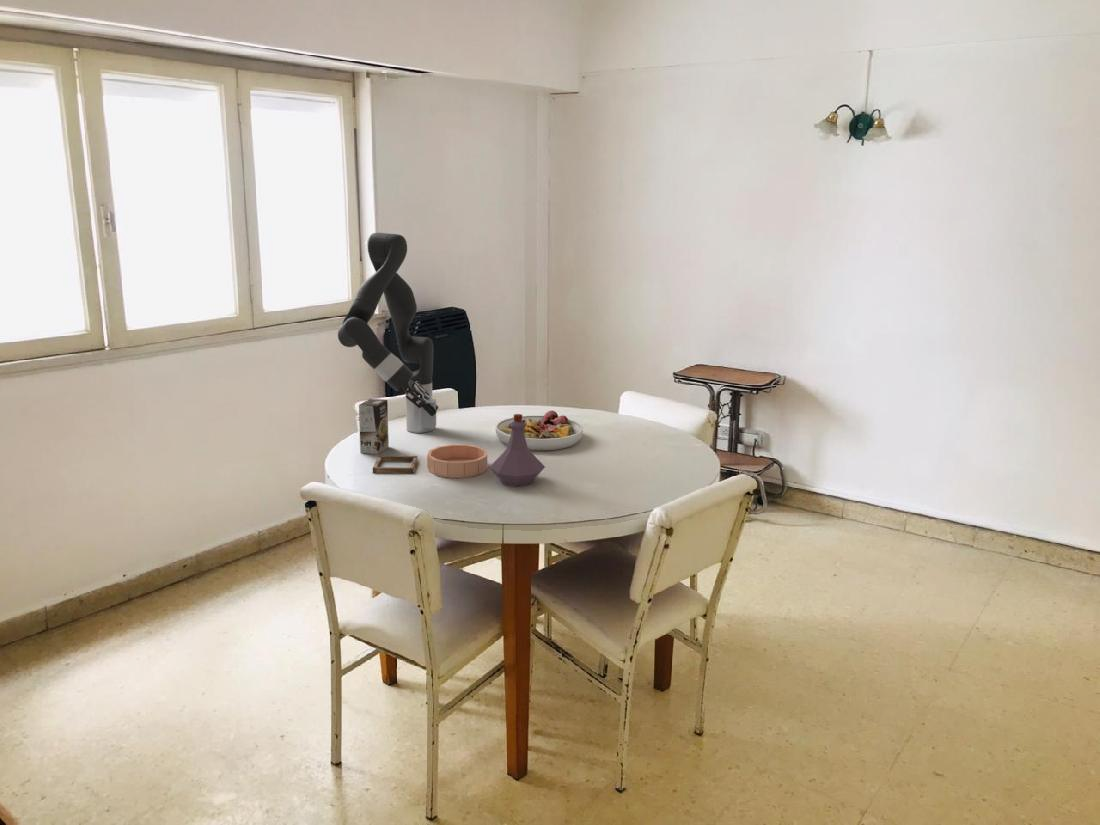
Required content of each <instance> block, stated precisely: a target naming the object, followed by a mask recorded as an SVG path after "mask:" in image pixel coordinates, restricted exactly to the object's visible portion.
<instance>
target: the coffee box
mask: <svg viewBox="0 0 1100 825" xmlns="http://www.w3.org/2000/svg"><path fill="white" fill-rule="evenodd" d="M388 404H389V403H388V399H382V398H381V399H379V398H369V399H367V400H366V401H363V402H362V403H359V404H358V413H359V414H358V415H359V416H358V417H359V423H358V424H359V425H358V426H359V453H361V454H370V455H379V454H380V453H382V452H383V451H385V450H386V449H387V448H389V446H390V444H389V443H390V442H389V440H390V439H389V438H390V437H389V411H388V410H389V409H388Z"/></svg>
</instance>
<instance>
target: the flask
mask: <svg viewBox="0 0 1100 825" xmlns="http://www.w3.org/2000/svg"><path fill="white" fill-rule="evenodd" d="M522 416H523V414H522V413H521V414H520V413H515V414H513V417H514V421H513V422H512V423H510V424H509V425H510V427H511V437H510V440H509V444H508V445H507V447H506V449H505V450H504V451H503V452H502V453H501V454H500V456H498V457H497V459H496V460H495V461H493V463H491V465H490V466H488V467H489V469H490V470H491V471H492V472H493V474H495V476H496V477H497V478H498V479H499V480H500V481H501V482H502V483H503V484H504V485H506V486H514V487H522V486H527V485H528V486H529V485H530V484H532V482H533V481H534V480H535V479H537V477H538V476H539V475H540V474H541V472H542V471H543V470H544V469H545V468H546V466H545V465H544V464H543V463H542V462H541V461H540V460H539V458H537V457H536V456H535V455H534V453H533V452H532V450H529V449H528V446H527V443H526V439H525V435H524V429H525V427H526V425H527V424H525V423H524V422H523V421H522Z"/></svg>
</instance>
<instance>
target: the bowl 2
mask: <svg viewBox="0 0 1100 825" xmlns="http://www.w3.org/2000/svg"><path fill="white" fill-rule="evenodd" d="M513 421H514V416H513V417H509V418H504V419H502V420H500V421H499V422H497V423H496V424H495V434H496V437H497V438H498V440H500V441H501V442H502V443H503V444H505V445H507V446H508V444H509V440H510V437H511V427H510V425H509V424H510V423H512V422H513ZM522 421H523V422H524V423H525V424H527V425H526V427H525V429H524V435H525V439H526V443H527V446H528V449H529V450H530V451H543V452H544V451H545V452H546V451H555V450H561V449H566V448H569V447H572V446H573V445H575V444H577V443H578V442H579V441H580V439H581V438H582V436H583V431H584V430H583V429H584V427H583V426H582V424H580V422H577V421H575V420H572V419H568V417H567V416H566V415H564V414H563V415H559V414H558V413H557V411H555V410H549V411H547V412H546V413H544V415H522Z"/></svg>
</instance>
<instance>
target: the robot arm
mask: <svg viewBox="0 0 1100 825" xmlns="http://www.w3.org/2000/svg"><path fill="white" fill-rule="evenodd" d="M366 248H367V252H368V257H369V259H370V261H371V264H372V266H373V269H374V273H373V274H372V275H371V276H370V277H368V278H367V279H366V280H365V281H364V282H363V283H362V284H360V286H359V288H358V289H357V291H356V293H355V296H354V298H353V300H352V302H351V305H350V307H349V310H348V312H347V314H346V316H345V317H344V319H343V321H342V322H341V324H340V326H339V329H338V331H337V339H338V341H339V343H340V344H341V345H342V346H344V347H346V348H354V347H358V348H360V350H361V357H362V358H363V360H364V361H365V362H366V363H367V364H368V365H369V366H370V367H371V368H372V369H373V370H374V371H375V372H376V373H377V374H378V376H379V377H380V378H381V379H382V380H383V381H384V382H385V383H387V384H388V385H389V386H390V388H392V389H393V390H394V391H395V392H399V391H400V390H401V389H402V390H403V391H404V394H405V410H406V411H405V412H406V414H405V415H406V416H405V417H406V420H405V421H406V431H408V432H410V433H415V434H418V433H419V434H422V433H423V434H424V433H429V432H431V431H433V429H434V428H421V408H423V409H424V410H425V411H427V412H428V413H429V414H430V415H431V416H433V415H435V414H436V415H437V411H438V409H439V406H438V405H437V404H436V409H435V408H433V407H432V406H431V405H430V404H429V403H428V401H427V400H426V399H433V373H434V351H435V350H434V349H435V348H434V343H433V340H432V339H431V338H430V337H426V336H425V337H424V336H412V335H411V334H410V326H411V324H412V322H413V319H415V318H414V317H415V316H416V313H417V309H418V307H417V302H416V299H415V294H414V292H413V290H412V288H411V286H410V285H409V284H408V283H407V281H406V280H405V279H403V277H402V276H400V275H399V273H398V270H400V268H401V266H402V264H403V263H404V261H405V258H406V256H407V254H408V244H407V240H406V238H405V236H403V235H401V234H397V233H388V232H387V233H386V232H373V233H371V234H370V235H369V236H368V240H367V247H366ZM383 295H384V300H385V302H386V306H387V309H388V312H389V315H390V318H391V320H392V324H393V327H394V331H395V334H396V335H395V336H396V341H397V347H398V350H399V354H400V358H401V359H402V360H403V361H402V360H400V358H399V357H398V356H396V355H395V354H394V353H392V352H391V351H390V350H389V349H388V348H387V347H386V346H385V345H383V343H382V342H381V341H380V339H379V338H378V336H377V334H375V332H374V331H373V329H372V327H371V325H369V322H370V320H371V319H372V318H373V316H374V314H375V312H376V310H377V307H378V305H379V302H380V301H381V298H382V296H383ZM403 362H405V363H409V364H420V366H419V368H418V369H417V370H414V371H412V370H411V369H410V368H409V367H408V366H407V365H406V364H405V363H403Z"/></svg>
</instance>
